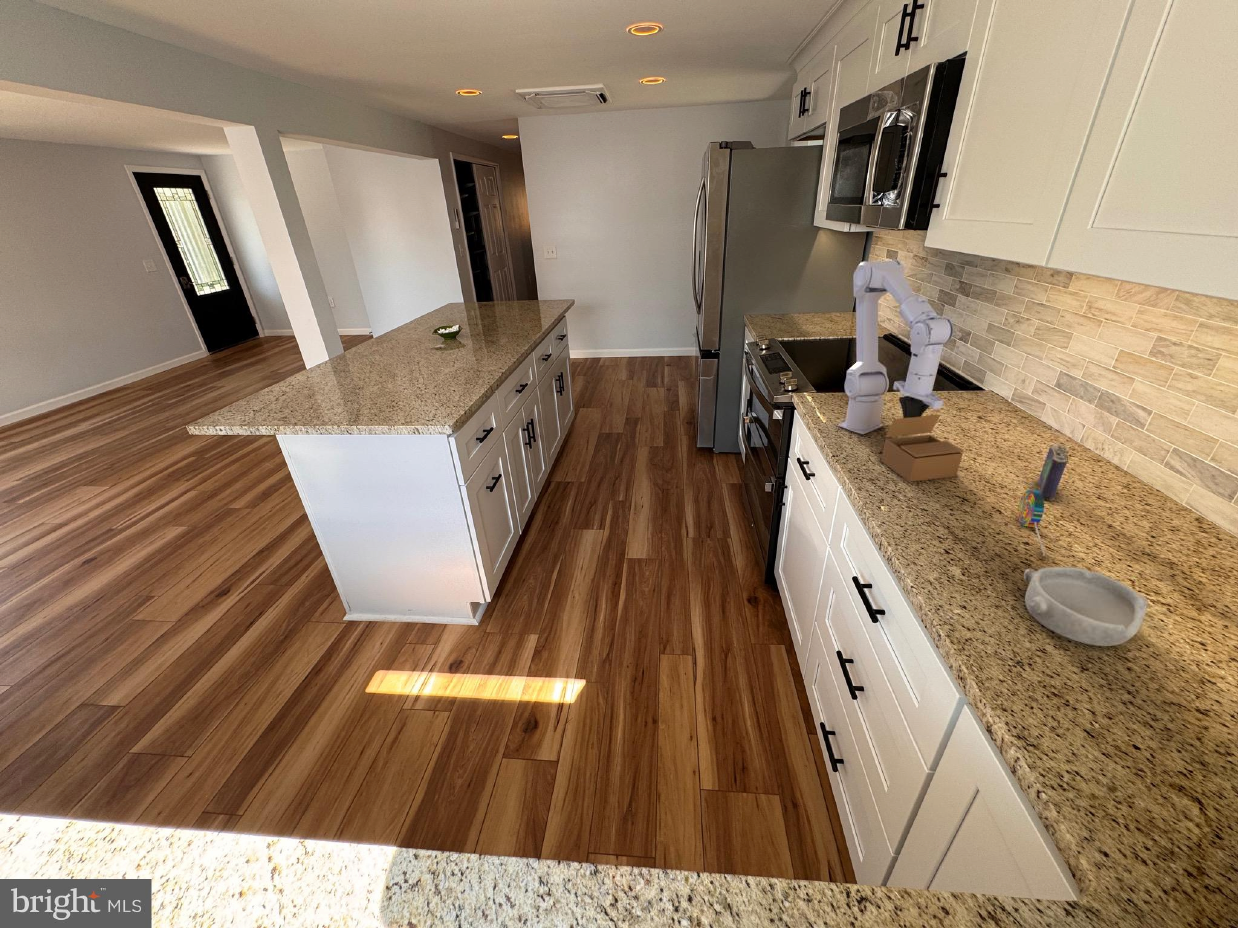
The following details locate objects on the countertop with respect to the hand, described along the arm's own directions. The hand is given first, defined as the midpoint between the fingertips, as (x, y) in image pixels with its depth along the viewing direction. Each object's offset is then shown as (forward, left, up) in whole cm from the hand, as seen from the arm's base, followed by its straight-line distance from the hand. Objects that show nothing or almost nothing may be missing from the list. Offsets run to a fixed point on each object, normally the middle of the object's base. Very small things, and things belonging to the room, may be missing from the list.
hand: (909, 426), depth 123 cm
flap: (+1, +1, +1) cm, 1 cm away
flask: (-9, +27, -9) cm, 30 cm away
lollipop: (+11, +32, -9) cm, 35 cm away
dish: (+30, +45, -9) cm, 55 cm away
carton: (+2, +5, -8) cm, 10 cm away
